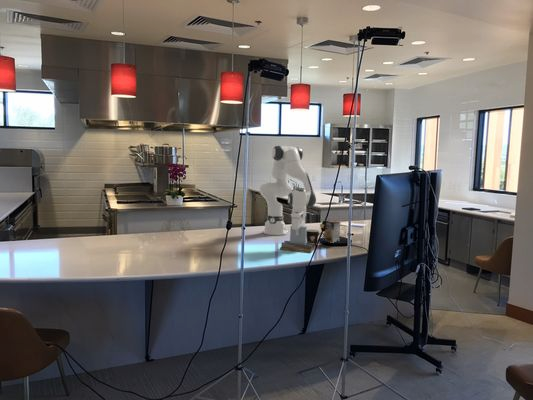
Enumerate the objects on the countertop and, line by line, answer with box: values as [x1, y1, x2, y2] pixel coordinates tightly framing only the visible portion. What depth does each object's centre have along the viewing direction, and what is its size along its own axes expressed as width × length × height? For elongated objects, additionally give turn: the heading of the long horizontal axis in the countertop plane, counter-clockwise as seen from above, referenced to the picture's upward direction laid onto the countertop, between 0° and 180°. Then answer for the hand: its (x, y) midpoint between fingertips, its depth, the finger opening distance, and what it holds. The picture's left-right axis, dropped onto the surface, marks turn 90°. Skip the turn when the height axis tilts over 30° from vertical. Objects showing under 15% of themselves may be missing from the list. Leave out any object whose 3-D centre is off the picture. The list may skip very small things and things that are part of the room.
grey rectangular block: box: [289, 225, 308, 245], centre depth 294 cm, size 3×10×12 cm, turn 71°
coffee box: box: [323, 219, 341, 243], centre depth 312 cm, size 9×6×16 cm
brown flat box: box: [279, 240, 316, 254], centre depth 295 cm, size 14×20×4 cm
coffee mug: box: [306, 229, 324, 246], centre depth 307 cm, size 12×9×10 cm
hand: (298, 234), depth 294 cm, fingers closed on grey rectangular block, 3 cm apart
